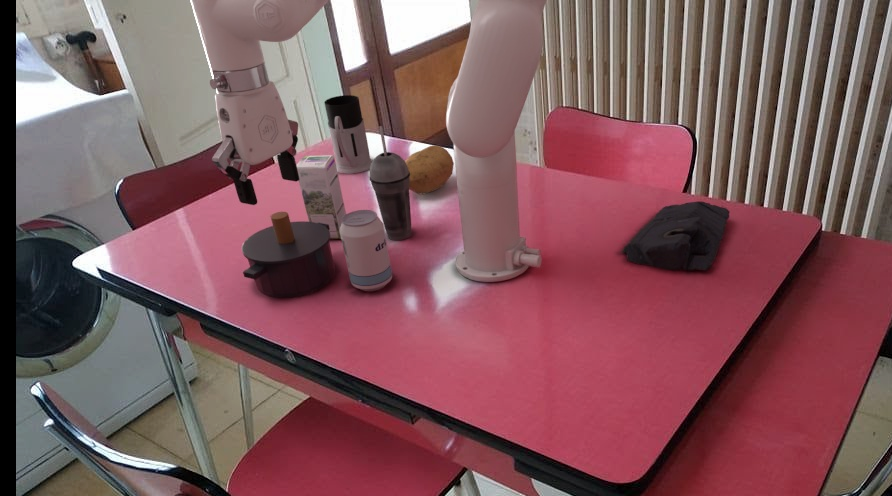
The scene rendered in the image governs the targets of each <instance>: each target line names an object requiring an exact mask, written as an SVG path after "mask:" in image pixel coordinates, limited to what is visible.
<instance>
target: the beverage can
mask: <svg viewBox="0 0 892 496" xmlns="http://www.w3.org/2000/svg"><path fill="white" fill-rule="evenodd" d="M340 236H341V239H340V241H341V245H342V248H343V252H344V253H343V254H344V258H345V263H346V267H347V271H348V275H349V280H350V284H351V285H352V286H353V287H354V288H356V289H360V291H364V292H375V291H379V290H381V289H384V288H385V287H386V286H387V285H388V284H389V283H390V282H391V280H392V278H393V272H392V265H391V260H390V255H389V248H388V243H387V238H386V230H385V227H384V223H383V220H381V219H380V217H379V216H378V213H377V212H376V211H373V210H370V209H357V210H353V211H351V212H348V213H346V215H345V216H343V218H342V224H341V227H340Z"/></svg>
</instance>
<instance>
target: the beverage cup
mask: <svg viewBox="0 0 892 496" xmlns="http://www.w3.org/2000/svg"><path fill="white" fill-rule="evenodd" d="M379 133H380V138H381V144H382V149H383V152H382V153H379V154H378V155H376V156H375V157H374V159H373V160H371V161H372V163H371V166H370V169H369V181H370V183H371V186H372V189H373V191H374V193H375V198H376V200H377V204H378V209H379V212H380V216H381V219H382V223H383V226H384V231H385V234H386V236H387V238H388V239H389V240H392V241H404V240H406V239H409V238H410V237H411V236H412V215H411V200H410V198H411V197H410V190H409V182H410V177H409V176H410V172H409V170H408V167H407V164H406V163H405V161H406V160H404V159H403V157H401V156H400V155H399V154H397V153H395V152H392V151H391V152H390V151H388V149H387V145H386V139H385V134H384V133H385V132H384V129H383V126H382V125H380V126H379Z"/></svg>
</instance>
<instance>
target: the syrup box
mask: <svg viewBox="0 0 892 496" xmlns="http://www.w3.org/2000/svg"><path fill="white" fill-rule="evenodd" d="M296 166H297V170H298V175H299V180H298V184H299V189H300V192H301V197H302V201H303V204H304V208H305V211H306V212H305V213H306V216H307V220H308V222H314V223H323V224H329V228H330V230H329V232H330V240H341V236H340V227H341V224H342V218H343V216H345V215H346V214H347V212H346V207H345V202H344V198H343V193H342V192H343V191H342V187H341V183H340V178H339V172H337V167H336V159H335V154H324V155H304V156H303V157H302V158H300V160H299V161H298V162H297V163H296Z"/></svg>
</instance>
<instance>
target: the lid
mask: <svg viewBox="0 0 892 496" xmlns="http://www.w3.org/2000/svg"><path fill="white" fill-rule="evenodd" d="M270 220H271V223H272V225H271V226H268V227H266V228H263V229H260V230H258V231H256V232H254V233H253V234H252V235H250V236H248V237H247V238H246V239H245V240H244V242H243V243H242V246H241V252H242V255H243V256H244V257H245V259H246V260H248V259H249V260H251V261H253V262H257V263H263V264H279V263H286V262H292V261H296V260H299V259H303V258H305V257H308V256H310V255H313V254H314V253H316V252H318V251H320V250H321V249H322V248H324V247H325V246H326V245H327V244H328V242H329V243H330V240H331V239H330V232H329V230H328V229H327V228H326V227H325V226H323V225H321V224H318V223H314V222H309V221H303V220H302V221H291V219H290V216H289V213H288V212H287V211H277V212H274V213H272V214H271V215H270Z"/></svg>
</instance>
